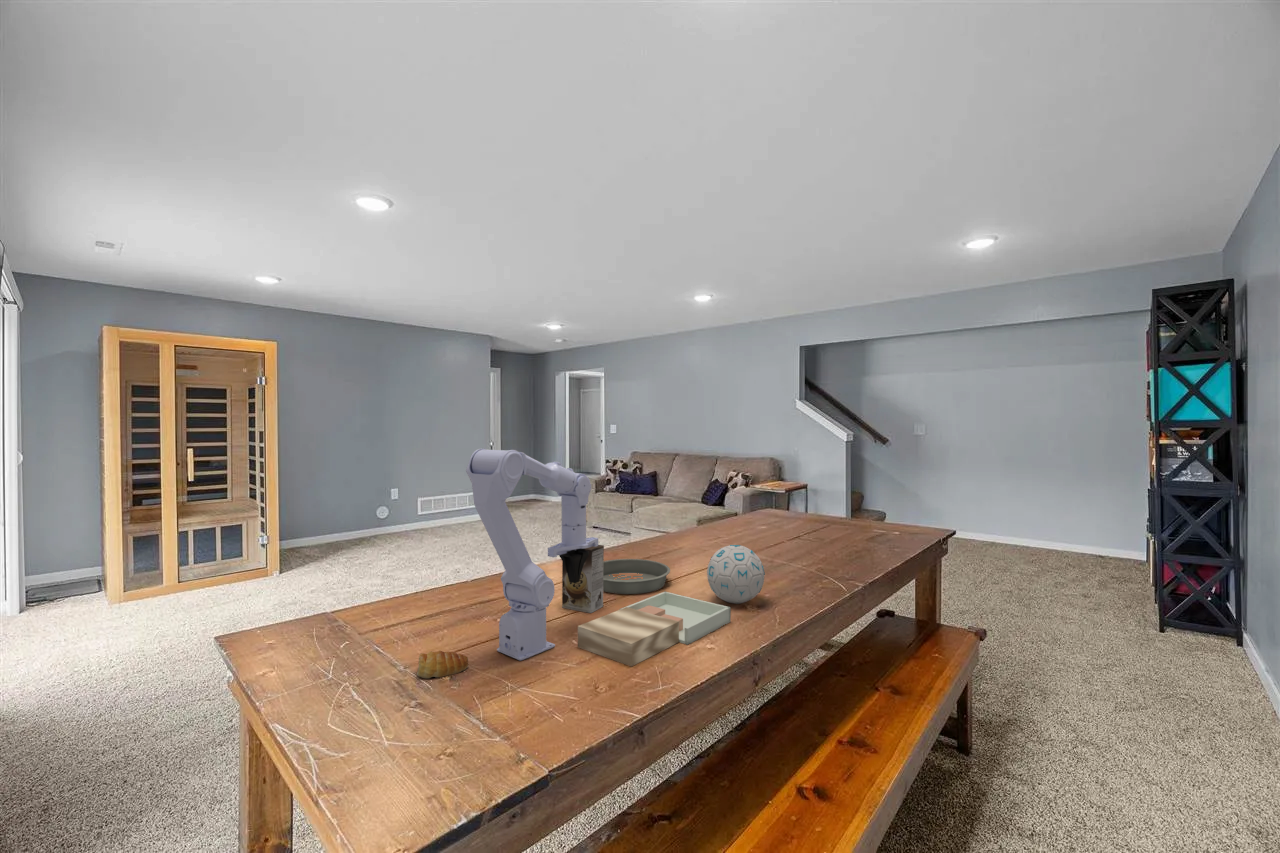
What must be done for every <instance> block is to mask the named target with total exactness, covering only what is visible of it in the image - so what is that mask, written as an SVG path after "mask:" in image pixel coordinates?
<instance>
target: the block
mask: <svg viewBox="0 0 1280 853" xmlns="http://www.w3.org/2000/svg"><path fill="white" fill-rule="evenodd" d="M625 607H626V606H625ZM622 608H623V609H621V608H619V609H620V610H619V609H618V610H616V611H613V612H610V613H608V614H606V615H603V616H600V617H597V618H595V619H593V620H590V621H588V622H585V623H582V624H580V625H577V648H579V649H582V650H584V651H588V652H589V653H593V654H595V655H598V656H601V657H605V658H606V659H610V660H613V661H614V662H618V663H620V664H623V665H626V666H629V667H631V668H632V667H634V666H636V665H638V664H640V663H641V662H644V661H645V660H647V659H649V658H651V657H653V656H655V655H657V654H658V653H660V652H662V651H664V650H667V649H668V648H671V647H672V646H674V645H677V644H678V643H680V642H679V621H675V620H672V619H668V618H664V617H661V616H657V615H654V614H650V613H646V612H643V611H639V610H636V609H632V608H628V607H626V608H624V607H622Z"/></svg>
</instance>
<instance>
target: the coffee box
mask: <svg viewBox="0 0 1280 853" xmlns="http://www.w3.org/2000/svg"><path fill="white" fill-rule="evenodd" d="M585 550H586V551H589V556H588V557H587V559H586V561H585V563H584V565H583V568H582V572H581V576H580V580H579V582H577V583H572V582H569V579H568V575H567V571H566V568H565V565H564V563H563V561H562V560H561V561H562V562H561V563H562V566H561V567H562V568H561V569H562V571H561V574H562V575H561V576H562V577H561V578H562V580H561V583H562V584H561V586H562V587H561V588H562V590H561V592H562V593H561V599H562V600H561V607H562V608H563V609H566V610H572V611H577V612H582V613H589V614H592V613H594V612H595V611H598V610H600V609H601V608H603V607H604V591H603V565H604V561H605V560H604V559H605V558H604V557H605V555H604V554H605V552H604V550H605V545H603V544H598V546H596V547H594V546H592V547H589V548H585Z"/></svg>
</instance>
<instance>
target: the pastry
mask: <svg viewBox="0 0 1280 853" xmlns="http://www.w3.org/2000/svg"><path fill="white" fill-rule="evenodd" d="M468 667H469V657H468V656H466V655H464V654H462V653H457V652H452V651H443V650H438V651H429V652H428V653H424V652H423V653H420V654H419V657H418V667H417V672H416V675H417V677H419V678H422V679H426V680H427V679H431V678H433V677H435V678H443V677H448V676H453V675H456V674H460V673H461V672H462V671H463V672H464V671H466V670H467V668H468Z"/></svg>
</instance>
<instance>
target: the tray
mask: <svg viewBox="0 0 1280 853" xmlns="http://www.w3.org/2000/svg"><path fill="white" fill-rule="evenodd" d="M648 605H650V606H653V607H657V608H661V609H665V614H667V615H671V616H675V617H679V618H683V630H681V631H679V642H678V643H681V644H684V645H687V646H688V645H690V644H692V643H694V642H696V641H697V640H699V639H701V638H703V637H705V636H706V635H709V634H710V632H711V633H712V632H714V631H716V630H718V629H720V628H722V627H724V626H726V625H727V624H729V623H731V620H732V619H731V615H732V614H731V611H732V610H731V607H730V606H726V605H723V604H719V603H714V602H710V601H705V600H702V599H697V598H693V597H689V596H686V595H685V596H684V595H680V594H678V593H673V592H669V591H662V592H660V593H657V594H655V595H652V596H650V597H647V598H644V599H642V600H640V601H637V602H635V603H632V604H628V605H627V606H625V607H621V608H619V609H618V610H620V609H623V608H626V607H628V608H632V609H636V610H638V609H641V608H643V607H646V606H648ZM725 624H726V625H725ZM723 625H724V626H723ZM721 626H722V627H721Z"/></svg>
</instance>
